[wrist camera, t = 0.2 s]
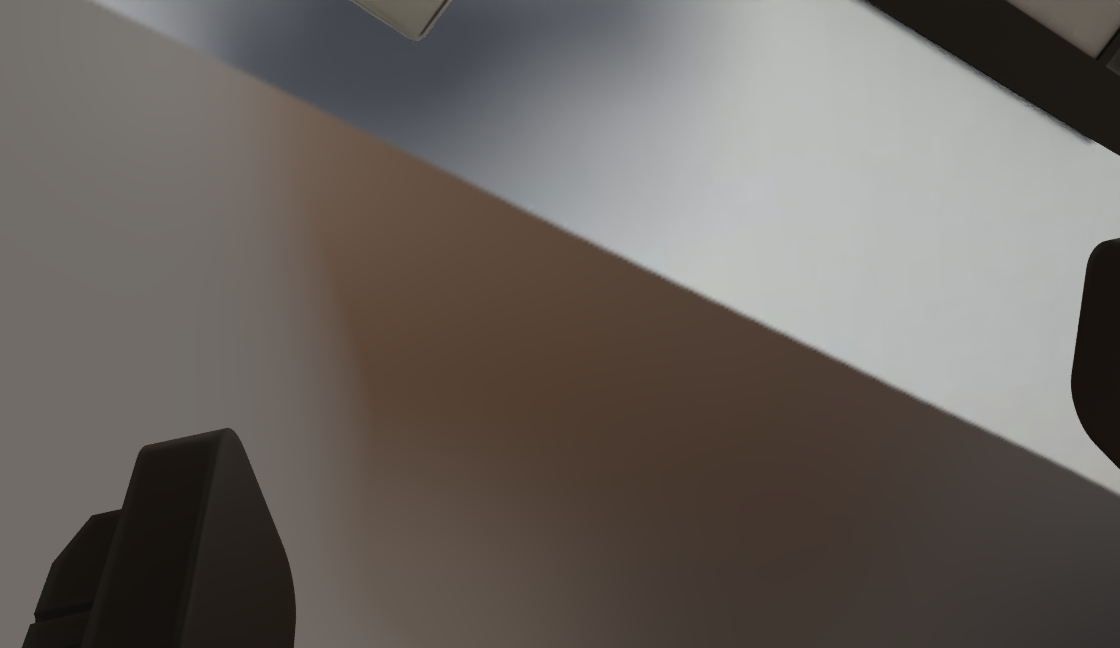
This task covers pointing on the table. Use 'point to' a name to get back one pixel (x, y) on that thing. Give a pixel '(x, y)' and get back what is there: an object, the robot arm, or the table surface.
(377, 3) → the box
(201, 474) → the robot arm
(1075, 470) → the table surface
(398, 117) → the table surface
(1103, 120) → the vhs tape
